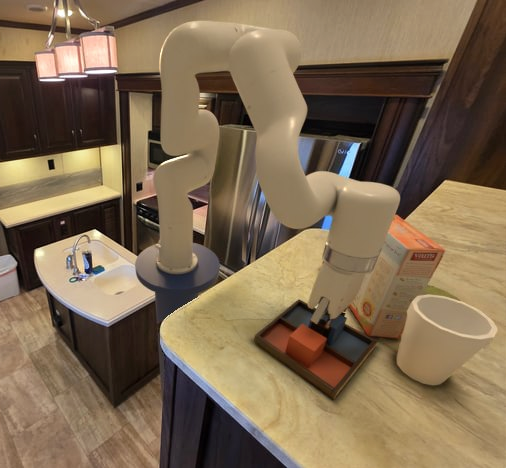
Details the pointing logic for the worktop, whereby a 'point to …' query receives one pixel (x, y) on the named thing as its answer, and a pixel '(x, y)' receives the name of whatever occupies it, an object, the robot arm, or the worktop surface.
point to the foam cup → (441, 337)
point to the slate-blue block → (334, 327)
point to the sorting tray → (333, 356)
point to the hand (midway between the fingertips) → (324, 330)
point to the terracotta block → (305, 345)
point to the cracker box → (396, 280)
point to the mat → (438, 292)
